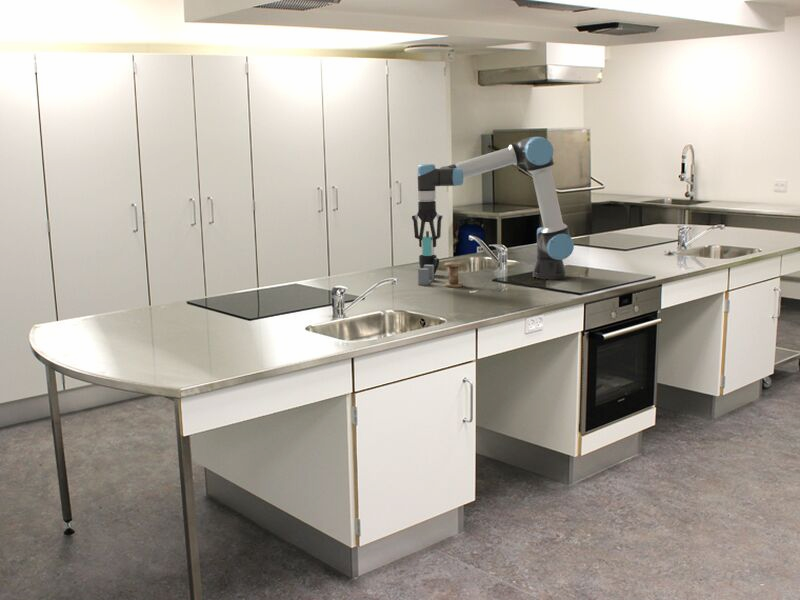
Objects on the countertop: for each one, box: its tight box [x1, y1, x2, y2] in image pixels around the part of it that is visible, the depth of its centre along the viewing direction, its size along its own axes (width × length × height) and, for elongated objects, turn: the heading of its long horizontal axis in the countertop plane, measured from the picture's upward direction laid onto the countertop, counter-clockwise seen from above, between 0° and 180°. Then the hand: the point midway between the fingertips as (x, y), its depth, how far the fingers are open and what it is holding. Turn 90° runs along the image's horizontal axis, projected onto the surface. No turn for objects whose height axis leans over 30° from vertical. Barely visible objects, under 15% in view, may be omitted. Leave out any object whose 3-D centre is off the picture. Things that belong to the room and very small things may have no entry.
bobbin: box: [444, 261, 464, 288], centre depth 384 cm, size 8×8×10 cm
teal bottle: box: [423, 230, 433, 256], centre depth 380 cm, size 4×4×10 cm
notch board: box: [417, 265, 435, 286], centre depth 394 cm, size 4×14×7 cm, turn 165°
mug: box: [418, 254, 440, 275], centre depth 411 cm, size 8×12×10 cm
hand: (427, 254), depth 381 cm, fingers closed on teal bottle, 3 cm apart
